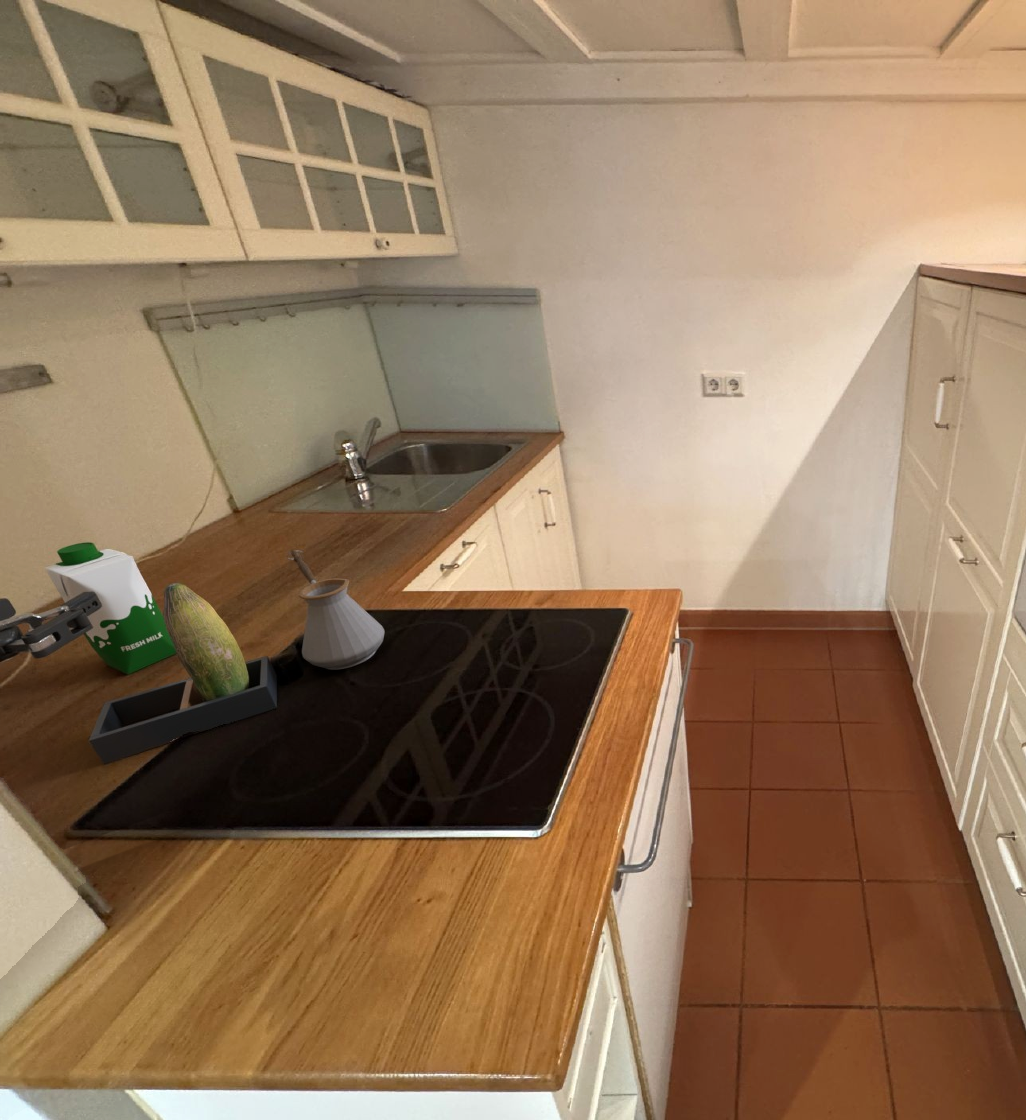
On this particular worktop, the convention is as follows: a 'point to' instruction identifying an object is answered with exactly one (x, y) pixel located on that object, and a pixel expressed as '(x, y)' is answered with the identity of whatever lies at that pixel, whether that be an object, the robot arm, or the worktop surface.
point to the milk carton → (114, 606)
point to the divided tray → (177, 713)
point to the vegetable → (204, 644)
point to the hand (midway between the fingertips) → (52, 602)
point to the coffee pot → (335, 624)
